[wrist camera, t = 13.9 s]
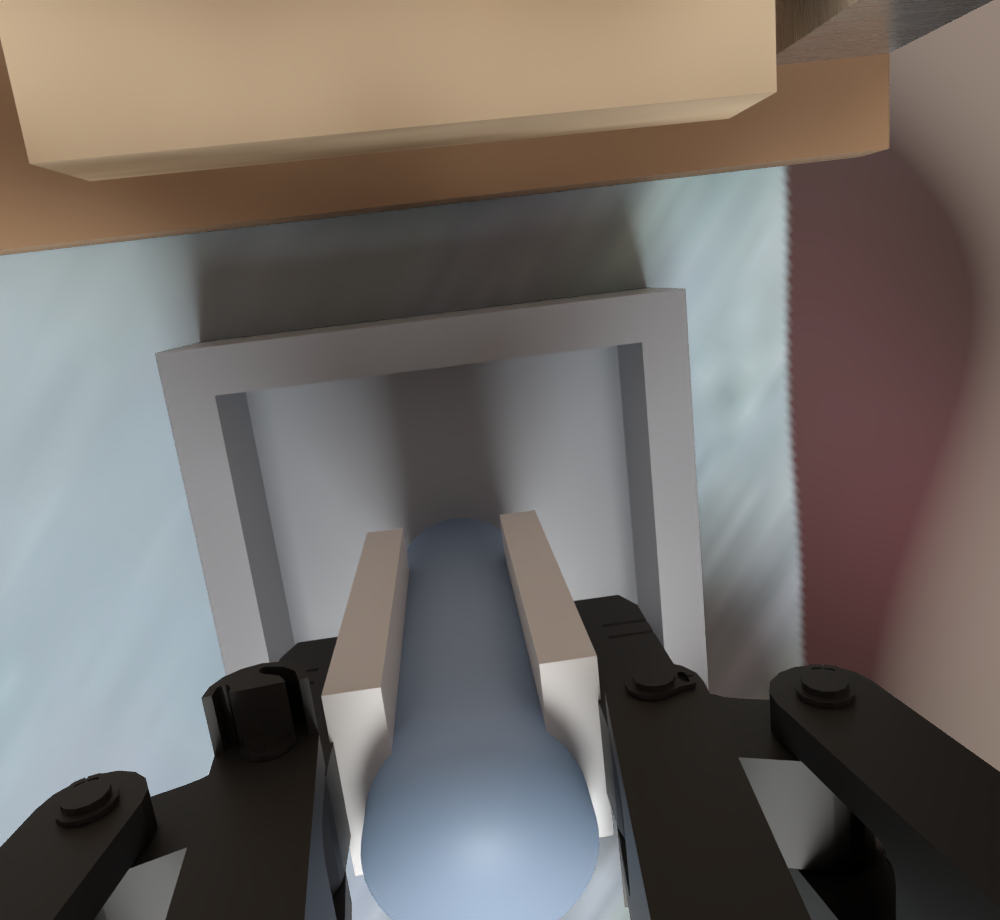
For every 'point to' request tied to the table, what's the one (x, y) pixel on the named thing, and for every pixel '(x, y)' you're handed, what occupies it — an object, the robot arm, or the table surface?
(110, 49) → the wooden block with recess
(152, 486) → the table surface
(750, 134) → the board
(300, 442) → the tray
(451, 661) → the dowel
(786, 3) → the block
